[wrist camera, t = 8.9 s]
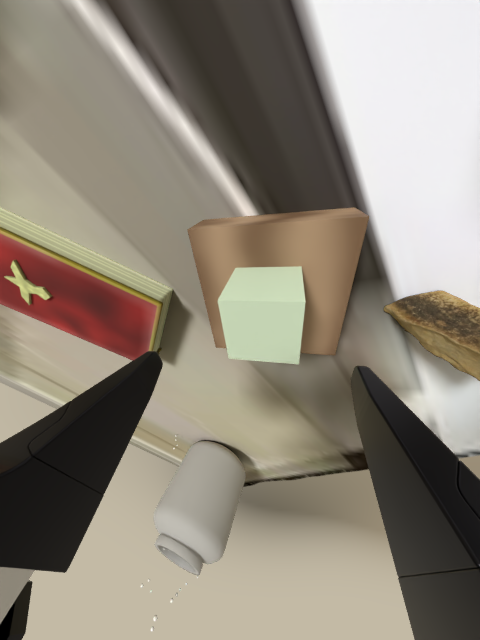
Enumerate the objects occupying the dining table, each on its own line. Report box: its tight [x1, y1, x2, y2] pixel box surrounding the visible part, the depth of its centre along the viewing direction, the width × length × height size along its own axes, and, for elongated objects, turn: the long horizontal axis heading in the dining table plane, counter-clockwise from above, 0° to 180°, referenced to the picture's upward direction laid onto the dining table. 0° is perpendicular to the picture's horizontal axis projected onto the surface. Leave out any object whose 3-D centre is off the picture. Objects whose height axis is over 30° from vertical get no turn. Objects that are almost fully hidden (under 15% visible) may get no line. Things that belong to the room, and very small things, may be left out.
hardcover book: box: [0, 207, 173, 360], centre depth 24 cm, size 12×21×4 cm, turn 66°
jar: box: [141, 435, 246, 631], centre depth 39 cm, size 19×15×25 cm
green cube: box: [218, 266, 305, 364], centre depth 15 cm, size 5×5×5 cm
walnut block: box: [188, 207, 369, 355], centre depth 19 cm, size 12×12×4 cm
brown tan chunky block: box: [384, 291, 480, 381], centre depth 17 cm, size 11×9×10 cm
